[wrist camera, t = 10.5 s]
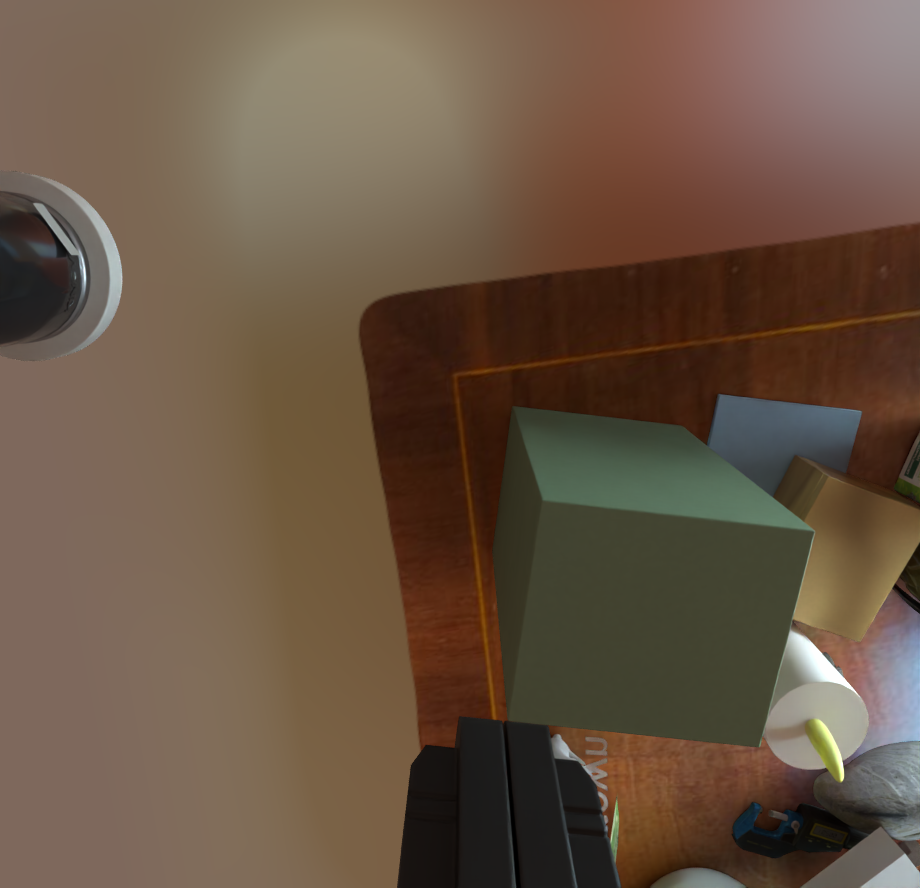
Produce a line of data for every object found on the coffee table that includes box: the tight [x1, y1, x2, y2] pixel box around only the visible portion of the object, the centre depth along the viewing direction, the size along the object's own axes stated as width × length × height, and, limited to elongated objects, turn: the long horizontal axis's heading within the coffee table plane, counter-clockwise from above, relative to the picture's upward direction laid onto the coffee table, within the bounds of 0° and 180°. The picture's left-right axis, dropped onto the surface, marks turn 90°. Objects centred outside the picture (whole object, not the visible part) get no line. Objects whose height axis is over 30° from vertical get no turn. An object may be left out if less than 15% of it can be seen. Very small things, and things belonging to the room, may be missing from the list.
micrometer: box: [732, 802, 869, 858], centre depth 58 cm, size 12×2×5 cm
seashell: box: [813, 741, 920, 841], centre depth 55 cm, size 12×8×5 cm
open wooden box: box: [773, 455, 920, 642], centre depth 50 cm, size 8×10×5 cm
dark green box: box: [492, 406, 815, 747], centre depth 42 cm, size 12×11×20 cm
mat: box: [707, 394, 862, 497], centre depth 51 cm, size 10×10×1 cm
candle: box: [763, 621, 869, 783], centre depth 47 cm, size 6×6×15 cm
